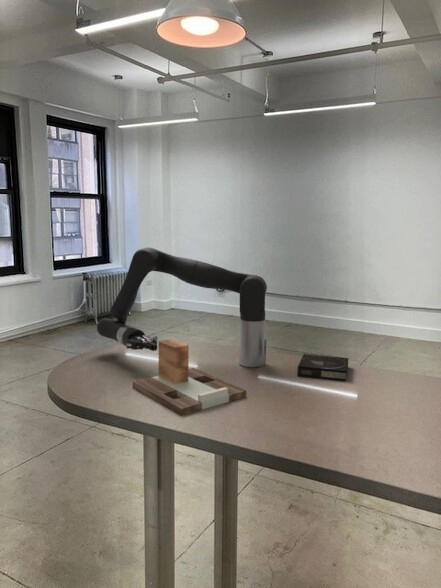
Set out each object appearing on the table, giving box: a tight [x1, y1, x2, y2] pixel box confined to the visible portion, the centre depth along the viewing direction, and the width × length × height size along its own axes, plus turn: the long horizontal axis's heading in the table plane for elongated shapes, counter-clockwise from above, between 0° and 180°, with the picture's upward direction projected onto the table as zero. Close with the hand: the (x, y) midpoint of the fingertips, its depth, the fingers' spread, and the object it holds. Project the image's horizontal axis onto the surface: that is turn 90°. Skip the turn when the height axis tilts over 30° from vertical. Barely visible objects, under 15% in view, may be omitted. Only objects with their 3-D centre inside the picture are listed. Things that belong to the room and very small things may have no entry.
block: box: [158, 338, 190, 384], centre depth 160 cm, size 5×10×12 cm, turn 39°
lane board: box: [132, 367, 247, 416], centre depth 154 cm, size 24×28×4 cm
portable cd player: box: [296, 353, 349, 382], centre depth 176 cm, size 16×17×4 cm
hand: (155, 347), depth 168 cm, fingers closed
